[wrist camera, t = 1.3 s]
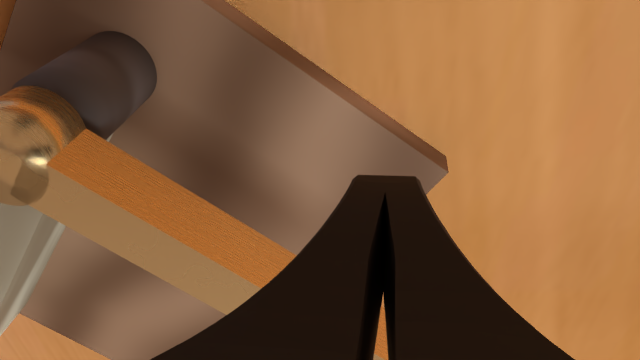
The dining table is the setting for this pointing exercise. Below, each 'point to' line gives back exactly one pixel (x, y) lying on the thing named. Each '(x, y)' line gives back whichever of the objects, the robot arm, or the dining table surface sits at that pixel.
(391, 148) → the wooden base plate
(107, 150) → the latch bar
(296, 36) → the dining table surface
